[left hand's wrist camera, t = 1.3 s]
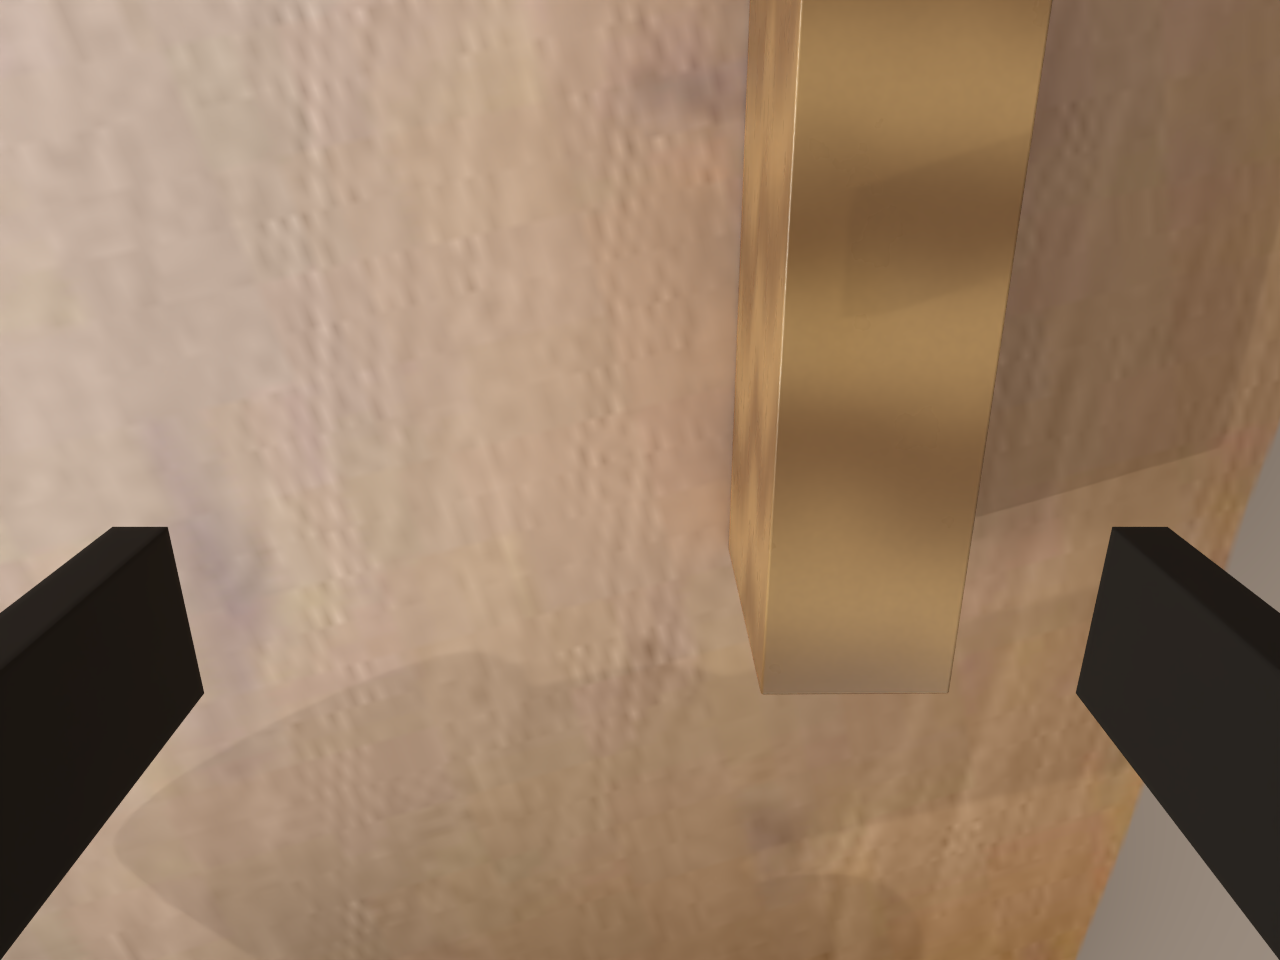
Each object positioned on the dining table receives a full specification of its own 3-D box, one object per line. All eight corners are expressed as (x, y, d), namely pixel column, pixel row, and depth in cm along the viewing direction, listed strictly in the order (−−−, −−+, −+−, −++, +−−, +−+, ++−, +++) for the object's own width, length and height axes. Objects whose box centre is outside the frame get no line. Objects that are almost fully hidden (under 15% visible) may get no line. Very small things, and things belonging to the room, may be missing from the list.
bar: (868, 549, 32) (949, 694, 24) (728, 550, 32) (760, 695, 24) (947, -212, 23) (1112, -390, 15) (757, -212, 23) (822, -390, 15)
